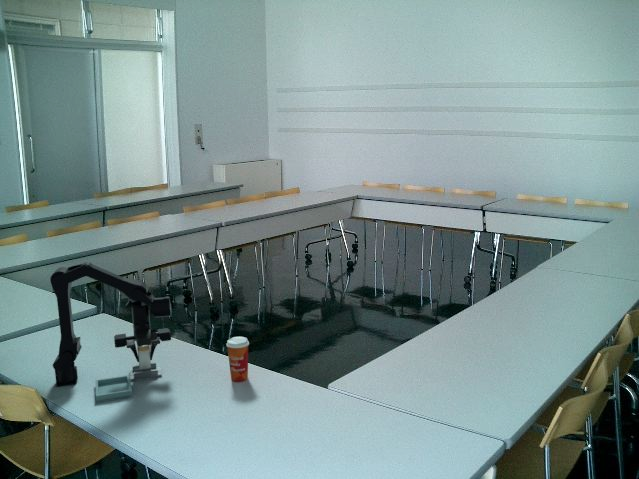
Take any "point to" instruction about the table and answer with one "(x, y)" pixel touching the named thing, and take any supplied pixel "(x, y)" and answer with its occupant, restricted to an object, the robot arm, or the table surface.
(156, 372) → the clip rails
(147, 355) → the cylinder
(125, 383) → the tray
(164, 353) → the table surface
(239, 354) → the paper cup
